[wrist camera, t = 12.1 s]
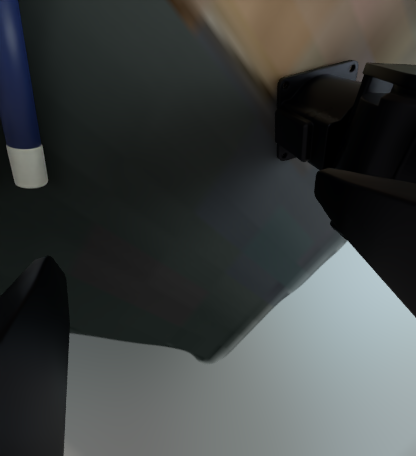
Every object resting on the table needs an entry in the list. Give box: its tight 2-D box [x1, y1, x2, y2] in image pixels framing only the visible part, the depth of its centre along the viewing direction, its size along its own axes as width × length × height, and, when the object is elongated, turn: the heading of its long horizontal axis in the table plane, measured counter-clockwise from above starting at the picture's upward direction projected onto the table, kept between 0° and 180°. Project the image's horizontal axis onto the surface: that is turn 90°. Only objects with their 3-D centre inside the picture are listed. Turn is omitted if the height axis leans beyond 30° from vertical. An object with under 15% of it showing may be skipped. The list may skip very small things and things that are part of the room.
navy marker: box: [0, 0, 48, 188], centre depth 15 cm, size 13×2×2 cm, turn 169°
